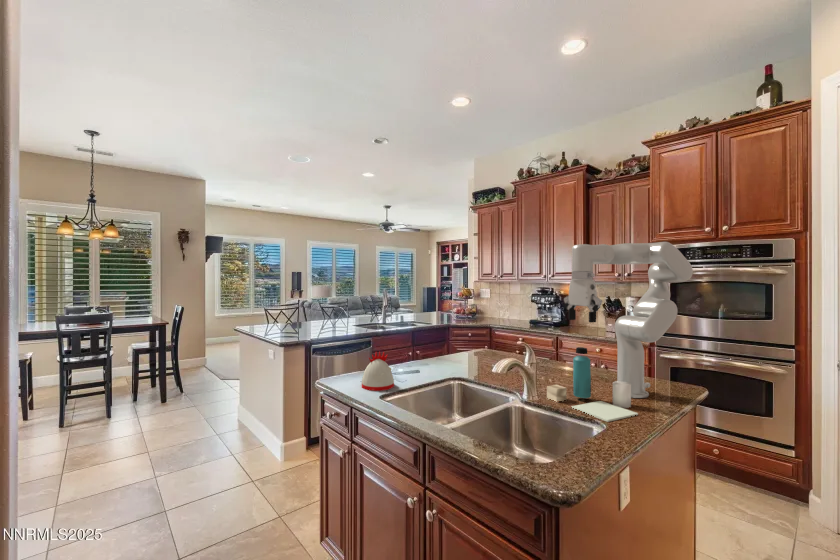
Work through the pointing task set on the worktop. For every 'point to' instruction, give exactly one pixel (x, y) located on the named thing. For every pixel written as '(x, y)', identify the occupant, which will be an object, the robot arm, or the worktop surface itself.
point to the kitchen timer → (377, 374)
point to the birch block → (556, 393)
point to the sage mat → (605, 411)
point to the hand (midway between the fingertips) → (581, 321)
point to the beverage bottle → (581, 374)
